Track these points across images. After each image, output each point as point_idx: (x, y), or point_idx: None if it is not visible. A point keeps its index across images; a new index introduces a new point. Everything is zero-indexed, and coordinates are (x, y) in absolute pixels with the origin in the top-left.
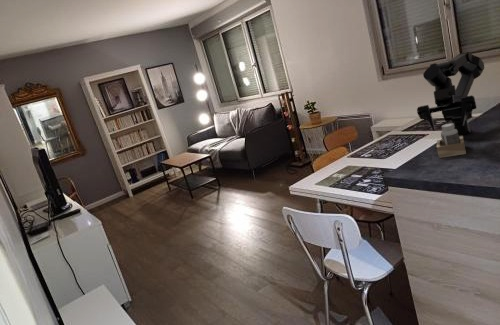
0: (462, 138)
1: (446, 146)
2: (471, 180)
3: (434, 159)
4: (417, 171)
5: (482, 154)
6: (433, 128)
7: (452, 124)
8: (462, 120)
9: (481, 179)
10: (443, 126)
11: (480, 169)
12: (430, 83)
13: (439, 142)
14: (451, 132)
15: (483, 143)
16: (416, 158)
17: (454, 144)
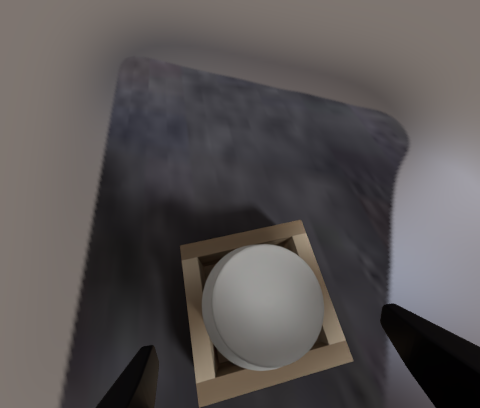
0: (194, 335)
1: (258, 229)
2: (165, 75)
3: None
4: (317, 136)
5: (132, 235)
6: (396, 308)
7: (220, 284)
8: (124, 382)
9: (145, 77)
10: (294, 261)
11: (144, 122)
12: None
13: None
14: (232, 254)
15: None
16: (386, 255)
17: (223, 238)
